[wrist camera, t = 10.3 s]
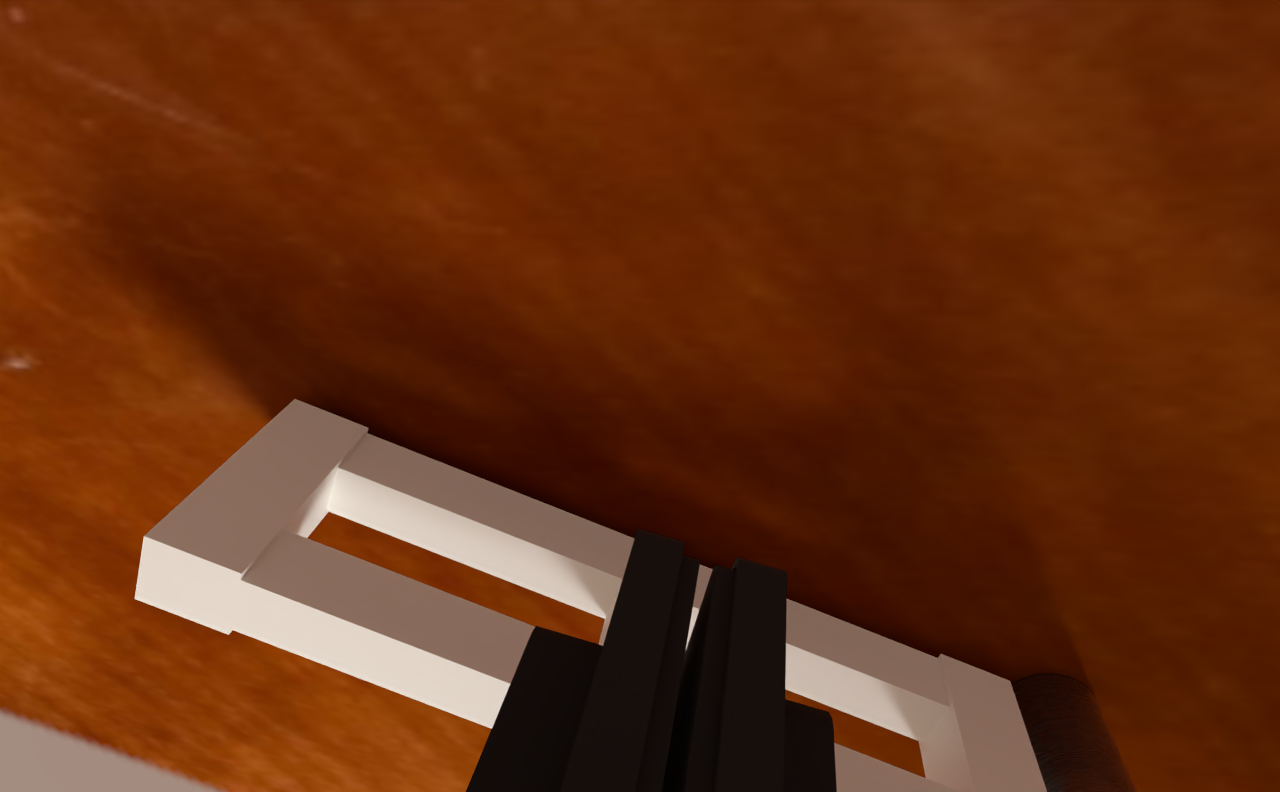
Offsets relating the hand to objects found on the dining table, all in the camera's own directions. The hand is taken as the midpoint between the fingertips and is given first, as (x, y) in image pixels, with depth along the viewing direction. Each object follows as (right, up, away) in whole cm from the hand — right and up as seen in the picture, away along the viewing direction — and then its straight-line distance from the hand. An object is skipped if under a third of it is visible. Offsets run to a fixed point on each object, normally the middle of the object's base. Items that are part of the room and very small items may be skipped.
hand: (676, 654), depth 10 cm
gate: (0, -1, +11) cm, 12 cm away
